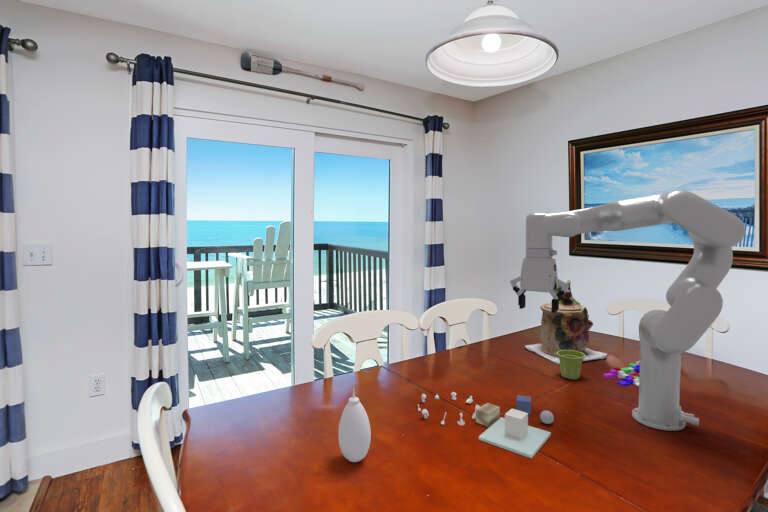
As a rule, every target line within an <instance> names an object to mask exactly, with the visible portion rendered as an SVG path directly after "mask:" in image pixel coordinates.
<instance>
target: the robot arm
mask: <svg viewBox="0 0 768 512" xmlns="http://www.w3.org/2000/svg"><path fill="white" fill-rule="evenodd" d="M666 224H676V225H678V226H679V227H681V228H682V229H684V230H686V231H687V232H688V236H689V238H690V241H692V245H693V254H692V257H691V259H690V260H689V261H688V263H687V264H686V267H685V268H684V269H683V270H682V271H681V273H680V274H679V275H678V277H677V278H676V279H675V280H674V281H673V283H672V284H671V285H670V286H669V287H668V289H667V291H666V294H665V299H666V302H667V304H668V305H669V306H670V307H669V308H668V310H667V311H666V310H664V309H651V310H649V311H647V312H646V313H644V314H643V316H642V317H641V318H640V319H639V324H638V336H639V337H638V338H639V361H640V376H638V377H639V386H638V407H635V408H633V409H632V411H631V416H632V418H633V419H634V420H635V421H636V422H638V423H640V424H642V425H644V426H646V427H649V428H653V429H656V430H661V431H670V432H672V431H673V432H675V431H676V432H677V431H682V430H683V429H685V428H686V423H689V424H690V425H695V426H700V425H699V424H700V418H699V417H695V414H693V413H689V412H688V413H687V412H684V411H683V410H682V406H681V405H680V390H681V371H682V369H681V368H682V363H681V362H682V357H681V354H683V353H685V352H688V351H689V350H690V349H692V348H693V347H694V346H695V345H696V344H697V342H698V341H699V340H700V339H701V338H702V337H703V336H704V334H705V333H706V332H707V331H708V329H709V328H710V327H711V326H712V325H713V324H714V322H715V321H716V319H718V317H719V315H720V313H721V312H722V309H723V305H724V300H723V297H722V294H721V293H720V291H719V290H718V289H717V288H718V287H719V286H720V284H722V282H723V281H724V280H725V277H727V275H728V273H729V272H730V269H731V267H732V265H733V259H734V258H733V257H734V254H733V246H737V245H738V244H740V242H741V241H743V240H744V237H745V235H746V225H745V224H744V221H742V219H741V218H739V217H738V216H737V215H735V214H733V213H731V212H730V211H728V210H726V209H724V208H722V207H721V206H719V205H716V204H714V203H712V202H711V201H709V200H707V199H705V198H703V197H701V196H700V195H698V194H696V193H693V192H691V191H688V190H684V189H679V190H678V189H677V190H674V191H673V190H672V191H667V192H662V193H656V194H650V195H645V196H639V197H634V198H633V197H632V198H626V199H621V200H619V199H618V200H616V201H615V200H614V201H612V202H607V203H604V204H601V205H597V206H592V207H587V208H581V209H574V210H568V211H567V210H565V211H559V212H554V213H553V212H552V213H550V212H532V213H528V214H527V215H526V217H525V257H524V258H523V260H522V264H521V267H520V268H521V270H520V276H518V277H516V278H514V279H511V280H509V284H510V285H511V287H512V290H513V291H514V292H515V294H516V295H517V296H518V298H517V300H518V301H517V302H518V304H517V305H518V306H519V308H518V309H521V310H522V309H525V308H526V294H525V293H526V292H527V291H529V292H540V293H549V295H551V297H552V299H551V302H552V313H555V312H557V310H558V309H559V298H560V297H561V296H563V295H564V294H565V293H566V291H567V289H568V288H569V285H568V284H566V282H565V281H563V280H561V279H559V278H558V277H559V276H558V267H557V261H556V258H553V257H554V256H557V255H558V250H555V249H554V248H553V237H561V238H572V237H575V236H577V235H581V234H589V233H595V232H596V233H597V232H619V231H628V230H634V229H635V230H636V229H641V228H646V227H654V226H661V225H666ZM518 282H519V286H520V287H519V286H518V284H517V283H518ZM558 285H560V286H561V287H562V289H561V291H560V292H559V293H558V292H557V288H558Z"/></svg>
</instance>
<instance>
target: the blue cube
mask: <svg viewBox="0 0 768 512" xmlns="http://www.w3.org/2000/svg"><path fill="white" fill-rule="evenodd" d="M515 406H516V407H515V409H516V410H519V411H522V412H526V413H528V416H531V415H532V414H531V412H532V396H527V395H519V394H517V395H516V405H515Z"/></svg>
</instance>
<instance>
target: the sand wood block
mask: <svg viewBox="0 0 768 512" xmlns="http://www.w3.org/2000/svg"><path fill="white" fill-rule="evenodd" d="M500 413H501V407H500V406H499V405H495V404H493V403H490V402H486V403H485V404H483V405H480V407H479V408H477V409H476V413H475V414H476V418H475V423H477V424H479V425H481V426H484V427H487V428H489V427H490V426H491V425H493V424H494V423H495V422H496V421H497V420H498V419H499V418H501V417H500Z"/></svg>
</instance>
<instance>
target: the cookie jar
mask: <svg viewBox="0 0 768 512" xmlns="http://www.w3.org/2000/svg"><path fill="white" fill-rule="evenodd" d="M565 283H566V284H568V285H569V288H568V289H567V291H566V293H565V294H564V295H563V296H561V297H560V298H559V309H558V310H557V312H555V313H552V301H551V302H547V303H543V304H541V305H540V307H539V308H540V310H541V311H542V314H541V315H542V316H541V320H540V321H541V322H540V323H541V324H540V330H539V333H540V334H539V335H540V336H539V337H540V342H541V343H535V344H534V343H533V344H527V345H524V347H525V349H526V350H528V351H530V352H533V353H534V354H537V355H538V356H541V357H542V358H545V359H546V360H549V361H551V362H553V363H555V364H557V365H560V360H559V357H558V354H557V352H558V351H560V350H573V351H578V352H581V353H583V354H585V357H584V359H583V361H582V362H586V361H587V362H588V361H594V360H603V359H605V358H606V357H607V356H608V353H606V352H602V351H596V350H593V349H590V348H588V347H587V346H588V345H589V343H590V342H589V341H590V339H589V338H590V335H589V331H590V329H592V327H593V326H594V323H593V320H590V319H589V317H590V316H589V314H588V313H589V312H588V308H587V307H586V306H584V305H582V304H581V303H580V302H578V300H576V299H575V297H574V296H573V293H572V288H571V283H572V282H571V280H570V279H568V280H567V281H566V282H565ZM561 289H562V287H561V286H560V285H558V288H557V292H558V293H559V292H560V291H561Z"/></svg>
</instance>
